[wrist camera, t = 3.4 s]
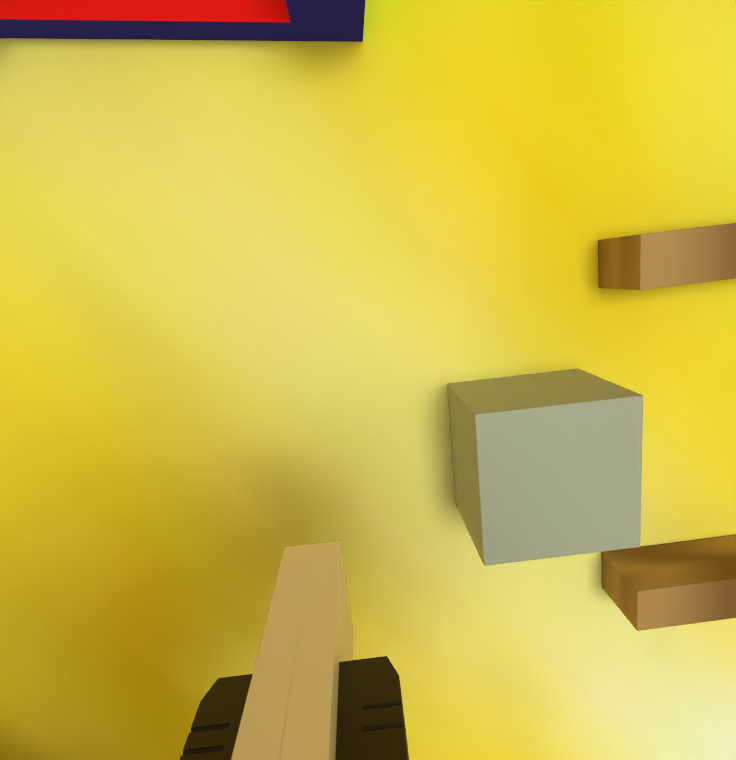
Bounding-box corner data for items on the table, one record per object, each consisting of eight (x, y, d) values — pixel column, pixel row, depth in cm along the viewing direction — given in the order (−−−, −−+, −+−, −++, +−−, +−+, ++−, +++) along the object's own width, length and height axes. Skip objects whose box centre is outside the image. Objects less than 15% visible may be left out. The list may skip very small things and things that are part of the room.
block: (455, 503, 23) (484, 565, 18) (446, 383, 22) (475, 414, 17) (578, 489, 23) (639, 547, 18) (577, 368, 22) (643, 395, 17)
